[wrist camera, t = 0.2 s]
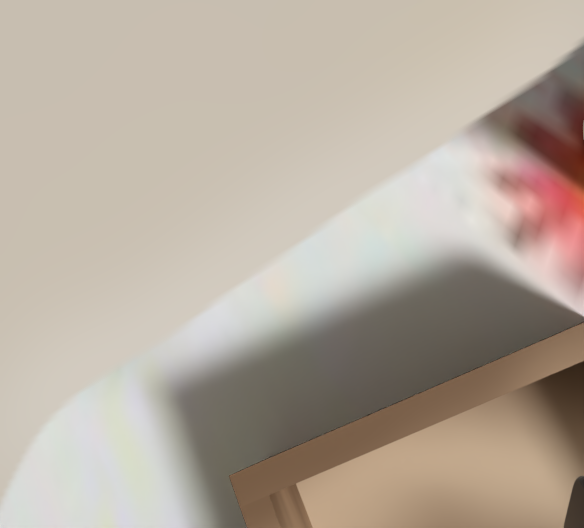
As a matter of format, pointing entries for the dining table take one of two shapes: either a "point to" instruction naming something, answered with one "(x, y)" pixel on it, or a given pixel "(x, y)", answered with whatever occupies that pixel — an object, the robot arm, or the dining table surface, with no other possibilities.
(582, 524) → the robot arm
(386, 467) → the walnut box
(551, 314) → the dining table surface
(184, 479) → the dining table surface
